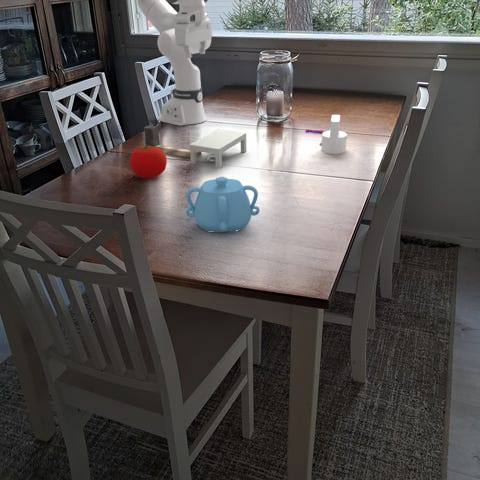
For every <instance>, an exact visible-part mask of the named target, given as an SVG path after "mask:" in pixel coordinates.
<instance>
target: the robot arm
mask: <svg viewBox="0 0 480 480" xmlns="http://www.w3.org/2000/svg"><path fill="white" fill-rule="evenodd" d="M124 1H127V0H124ZM208 1H209V0H137V5H138V7H139V10H140V11H141V12H142V14H143V15H144V16H145V18H146V19H147V21H149V23H150V24H151V25H152V26H153V27H154V29H156V31H158V32H159V35H158V37H157V48H158V50H159V52H160V53H161V54H162V56H164V57H165V58H166V59H167V60H168V61H169V63H170V65H171V67H172V70H173V76H174V77H173V78H174V86H175V87H174V88H173V89H172V90H170V94H172V97H171V98H169V99H168V100H167V101H166V102H165V103H164V104H163V105H162V107H161V114H160V115H159V116H157V117H156V119H157V120H156V121H158V122H163V123H166V124H167V123H168V124H171V125H175V126H187V125H195V124H196V125H197V124H201V123H204V122H205V121H207V116H206V114H205V111H204V105H203V88H202V84H201V71H200V68H199V67H198V66H197V65H196V64H193V62H192V60H191V58H193V54H200V55H205V54H206V50H207V49H208V48H210V46H211V43H212V38H213V37H212V36H213V29H212V23H211V20H210V17H209V15H208V14H207V13H206V3H207V2H208ZM170 4H172V5H180V9H179V10H178V12H177V11H176V10H175V9H174V8H173V7H172V5H170Z"/></svg>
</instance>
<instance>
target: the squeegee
mask: <svg viewBox="0 0 480 480" xmlns="http://www.w3.org/2000/svg"><path fill="white" fill-rule="evenodd" d="M330 128H331V126H330V127H329V129H328V131H330ZM309 132H313V134H321V135H322V133H323V132H324V131H323V130H316V129H314V130H313V129H309V128H308V129H307V128H306V129H305V133H309ZM319 146H321V147H322V141H321V142H320V143H319Z"/></svg>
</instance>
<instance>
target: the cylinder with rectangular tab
mask: <svg viewBox="0 0 480 480" xmlns="http://www.w3.org/2000/svg"><path fill="white" fill-rule="evenodd" d="M340 120H341V115H340V114H332V115H331V119H330V127H331V128H330V127H329V129H330V131H329V130H326V131H323V133H322V134H321V142H322V146H321V151H322V152H323V153H326V154H330V155H338V154H339V155H340V154H343V153H345V152H346V150H347V138H348V134H347V133H346V132H345V131H341V130H340V122H341V121H340Z"/></svg>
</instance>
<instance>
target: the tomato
mask: <svg viewBox="0 0 480 480" xmlns="http://www.w3.org/2000/svg"><path fill="white" fill-rule="evenodd" d="M167 161H168V159H167V154H166V153H164V152H163V151H162V150H161V149H160V148H158V147H153V146H148V145H147V146H146V145H142V146H139V147H136V148H135V149H134V150H133V151H132V153H131V155H130V157H129V167H130V170H131V171H132V172H133V174H135V175H136V176H137V177H140V178H141V179H155V178H157V177H158V176H160V175H162V174H163V173H164V171H165V169H166V168H167V164H168V162H167Z"/></svg>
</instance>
